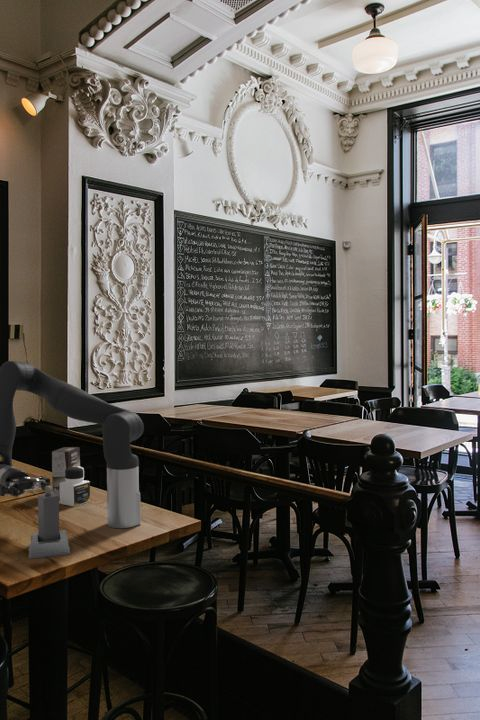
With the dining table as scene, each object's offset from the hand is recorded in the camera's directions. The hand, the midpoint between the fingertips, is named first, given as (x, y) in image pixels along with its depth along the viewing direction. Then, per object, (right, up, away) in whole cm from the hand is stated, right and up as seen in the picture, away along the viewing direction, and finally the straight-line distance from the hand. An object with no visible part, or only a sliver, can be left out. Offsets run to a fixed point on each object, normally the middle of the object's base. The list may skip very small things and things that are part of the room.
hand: (32, 490), depth 165 cm
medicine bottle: (+2, -12, +35) cm, 37 cm away
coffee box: (-4, -12, +45) cm, 47 cm away
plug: (+7, -13, -9) cm, 18 cm away
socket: (+7, -14, -9) cm, 18 cm away
